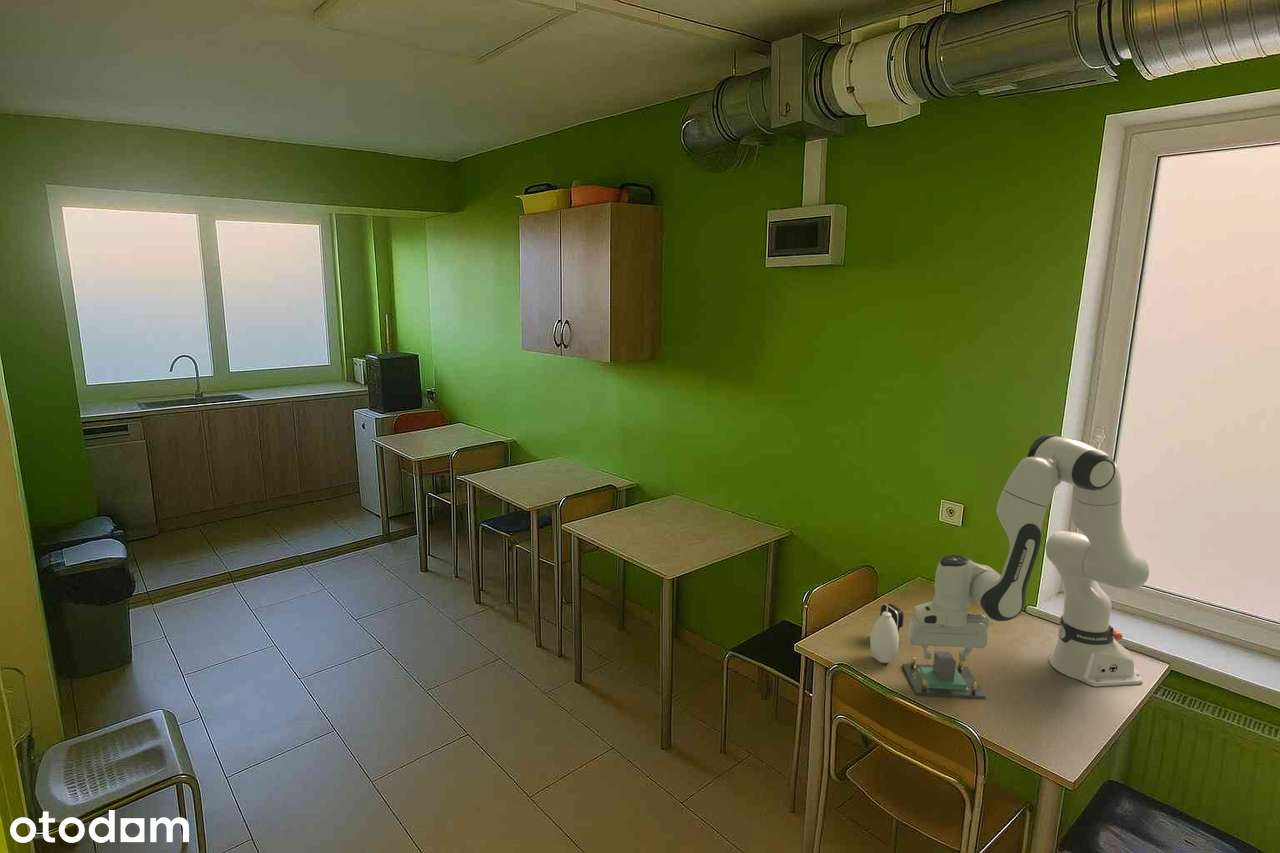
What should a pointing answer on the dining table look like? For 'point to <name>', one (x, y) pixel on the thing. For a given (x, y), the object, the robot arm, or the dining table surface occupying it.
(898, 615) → the battery charger
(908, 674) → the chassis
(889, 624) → the white air blower bulb
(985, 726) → the dining table surface
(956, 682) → the board
